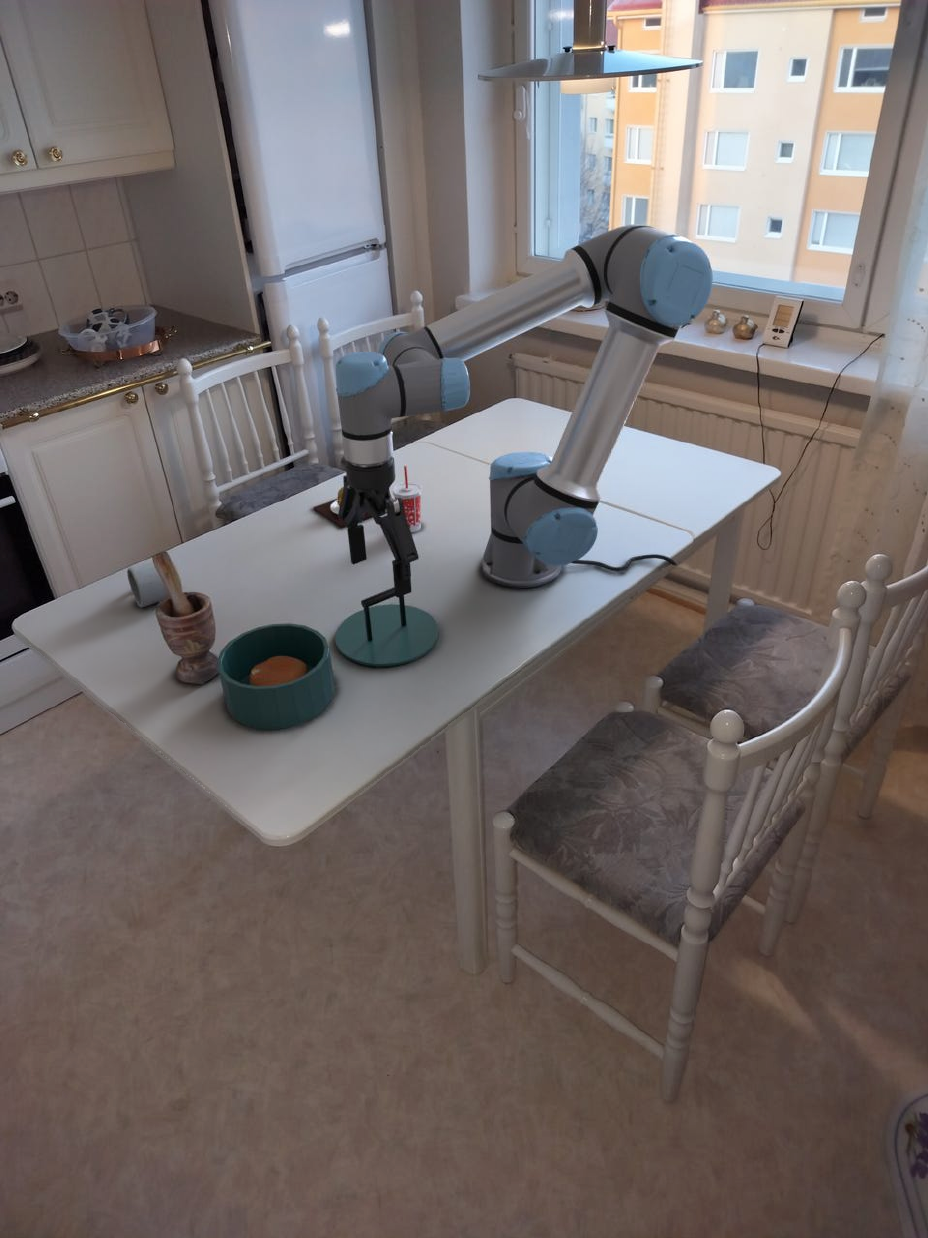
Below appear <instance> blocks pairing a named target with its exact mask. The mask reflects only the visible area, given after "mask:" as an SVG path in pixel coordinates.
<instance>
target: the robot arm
mask: <svg viewBox="0 0 928 1238" xmlns="http://www.w3.org/2000/svg"><path fill="white" fill-rule="evenodd" d="M713 282H714V273H713V268H712V266H711V262H710V259H709V257H708V255H707V254H706V252H705V251H704V250H703V249H702V247H700V246H699V245H698V244H696V243H695V242H693V241H692V240H689V239H688V238H686V237H685V236H681V235H677V234H675V233H671V232H667V231H665V230H661V229H658V228H655V227H653V226H651V225H647V224H642V223H636V224H626V225H622V226H619V227H616V228H613V229H611V230H608V231H606V232H603V233H601V234H599V235H596V236H594V237H592V238H590V239H588V240H585V241H583V242H581V243H579V244H577V245H575V246H573V247H571V248H569V249H566V251H565V253H564V255H563V257H562V260H560V261H558V262H555V263H553V264H552V265H549V266H547V267H545V268H543V269H541V270H538V271H537V272H535V273H533V274H531V275H528V276H527V277H525V278H523V279H521V280H519V281H516V282H514V283H512V284H511V285H509V286H506V287H504V288H502V289H500V290H498V291H496V292H494V293H492V294H490V295H487V296H485V297H484V298H482V299H480V300H478V301H475V302H473V303H471V304H469V305H467V306H465V307H463V308H461V309H459V310H456V311H455V312H453V313H451V314H449V315H446V316H444V317H443V318H441V319H438V320H436V321H435V322H432V323H430V324H428V325H426V326H424V327H421V328H419V329H417V330H415V331H413V332H411V333H410V332H406V331H394V332H392V333H390V334H388V335H387V336H386V337H384V338H383V340H382V342H380V345H379V349H378V352H376V351H355V352H354V351H353V352H350V353H347V354H345V355H342V356H341V357H340V358H339V359H337V361H336V364H335V378H336V388H335V391H336V394H337V402H338V411H339V420H340V426H341V441H342V449H343V458H344V460H345V462H344V465H345V466H344V467H345V474H346V475H343V477H342V480H343V482H342V483H343V487H344V488H343V493H342V498H341V503H340V508H339V513H338V517H339V519H340V520H344V525H345V526H346V527H345V528H346V529H347V538H348V548H349V556H350V563H351V564H352V565H357V564H359V563H362V562H364V561H367V560H368V557H367V547H366V537H365V528H364V526H365V525H363V524H362V523H364V521H365V520H363V517H364V515H365V513H369V514H370V515H371V516H372V517H371V518H372V519H373V520H374V523H375V524H376V525H378V526H379V527H380V529H381V531H382V534H383V536H384V538H385V541H386V542H387V544H388V547H389V549H390V551H391V554H392V556H393V558H394V559H393V560H391V564H392V565H391V566H392V574H393V575H392V576H393V587H394V589H395V596H394V597H396V598H398V599H399V597H401V596H403V595H404V596H405V595H408V594H410V593H411V594H412V578H411V577H412V570H411V563H412V562H415V561H418V560H419V558H420V556H419V553H418V550H417V547H416V544H415V541H414V537H413V534H412V532H411V531H410V528H409V525H408V522H407V518H406V515H405V511H404V504H403V500H402V499H401V498H398V499H395V498H394V497H392V495H391V491H390V489H391V486H392V485H393V484H394V482H395V480H396V466H395V464H396V463H395V458H394V443H393V434H394V433H393V428H392V427H393V426H392V419H396V418H404V417H412V416H418V415H425V414H426V415H427V414H434V413H441V412H443V413H447V412H449V411H453V410H458V409H461V408H464V407H465V406H466V405H467V404H468V402H469V399H470V393H471V384H470V376H469V371H468V369H467V366H466V364H465V362H466V361H467V360H469V359H472V358H474V357H476V356H477V355H480V354H482V353H484V352H486V351H488V350H490V349H492V348H494V347H496V346H498V345H500V344H503V343H505V342H507V341H509V340H511V339H513V338H515V337H518V336H519V335H521V334H523V333H526V332H527V331H531V330H532V329H533V328H536V327H538V326H540V325H542V324H544V323H546V322H548V321H550V320H553V319H554V318H556V317H558V316H559V317H560V316H561V315H563V314H565V313H567V312H569V311H572V310H573V309H576V308H578V307H579V306H582V307H585V308H587V309H589V308H592V307H593V306H596V305H598V304H600V303H604V302H607V305H606V307H605V310H604V313H605V316H606V319H607V321H608V328H607V330H606V332H605V335H604V336H603V339H602V342H601V344H600V346H599V349H598V350H597V354H596V356H595V358H594V361H593V363H592V366H591V367H590V369H589V372H588V374H587V376H586V379H585V381H584V384H583V386H582V388H581V390H580V393H579V396H578V398H577V400H576V403H575V405H574V407H573V410H572V412H571V414H570V417H569V418H568V421H567V423H566V426H565V428H564V431H563V433H562V436H561V438H560V441H559V442H558V445H557V447H556V449H555V452H554V454H553V456H551V455H549V454H546V453H543V452H537V451H519V452H510V453H507V454H504V455H501V456H499V457H497V458H495V459H494V460H493V461H492V462H491V464H490V469H489V477H488V480H489V497H490V501H489V502H490V535H489V538H488V541H487V542H486V543H487V544H486V546H485V549H484V552H483V555H482V560H481V561H482V562H481V563H482V564H481V565H482V567H481V568H482V572H483V574H484V576H485V577H486V578H487V579H488V580H490V581H491V582H493V583H495V584H497V585H500V586H503V587H508V588H513V589H514V588H516V589H528V588H530V589H531V588H536V587H540V586H544V585H546V584H548V583H551V582H552V581H553V580H555V579H557V577H558V576H559V575H560V573H561V569H562V567H563V566H568V565H570V564H573V565H591V566H597V567H600V568H603V569H606V570H608V571H611V572H622V571H625V570H627V569H628V567H630V565H632V563H634V562H636V561H642V560H648V559H650V560H651V559H658V560H662V561H665V562H668V563H669V564H671V565H673V566H678V563H677V562H676V561H675V560H674V559H672V558H671V557H669V556H666V555H663V554H658V553H657V554H654V553H653V554H652V553H650V554H642V555H637V556H633V557H630V558H629V559H628V560H627V561H626V562H625V564H623V565H622V566H612V565H609V564H606V563H604V562H601V561H597V560H590V559H589V560H587V559H582V558H583V557H584V556H586V555H587V554H588V553H589V552H590V551H591V549H592V548H593V546H594V545H595V542H596V541H597V537H598V532H599V531H598V530H599V529H598V525H597V520H596V518H595V517H594V514H595V512H596V510H597V507H598V505H599V503H600V501H601V499H602V495H601V493H600V490H599V487H598V484H599V481H600V479H601V477H602V475H603V472H604V470H605V468H606V467H607V464H608V462H609V459H610V457H611V456H612V453H613V451H614V449H615V446H616V444H617V442H618V439H619V437H620V436H621V433H622V431H623V429H624V426H625V424H626V422H627V420H628V417H629V416H630V413H631V412H632V409H633V407H634V405H635V403H636V400H637V398H638V396H639V395H640V391H641V390H642V387H643V385H644V382H645V380H646V379H647V376H648V374H649V371H650V369H651V367H652V366H653V364H654V363H653V362H654V361H655V359H656V356H657V354H658V352H659V349H660V348H661V347H662V346H663V345H665V344H668V343H670V342H672V341H674V340H675V338H676V337H677V334H678V331H679V330H680V328H681V326H684V325H687V324H689V323H690V322H691V320H693V319H696V318H697V317H699V316H700V315H701V314H702V312H703V311H704V309H705V308H706V306H707V304H708V302H709V299H710V297H711V293H712V291H713V290H712V289H713ZM362 520H363V521H362Z"/></svg>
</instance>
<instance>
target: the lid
mask: <svg viewBox="0 0 928 1238" xmlns="http://www.w3.org/2000/svg"><path fill="white" fill-rule="evenodd" d="M395 597H396V596H395V589H394V586H393V587H391V588H388V589H386V590H384V591H381V592H378V593H376V594H374V595H371V596H368V597H366V598H364V599H361V600H360V604H361V607H362V608H363V609H361V610H359V611H357V612H355V613H353V614H350V615H349V616H348V617H347V618H345V619H344V620H343V621H342V622H341V623H340V624H339V626H338V627H337V629H336V632H335V637H334V639H335V646H336V648H337V649H338V651H339V653H341V654H342V656H344V657H345V658H346V659H348V660H350V661H352V662H355V663H358V664H361V665H365V666H371V667H392V666H398V665H402V664H406V663H409V662H410V663H411V662H412V661H414V660H418V659H419V658H421V657H423V656H424V655H426V654H428V653H429V652H430V651H431V650H432V649H433V648H434V647H435V645H436V644H437V642H438V639H439V636H440V627H439V624H438V622H437V620H436V619H435V617H434V616H433V615H432V614H430V613H428V612H427V611H425V610H423V609H421V608H419V607H415V606H413V605H412V606H411V605H406V602H405V601H406V600H405V595H403V596H401V597H399V598H398V604H397V603H394V604H393V603H392V604H391V603H390V604H380V603H383V602H385V601H387V600H390V599H392V598H395ZM377 604H379V605H377Z"/></svg>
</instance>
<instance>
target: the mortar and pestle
mask: <svg viewBox="0 0 928 1238" xmlns="http://www.w3.org/2000/svg"><path fill="white" fill-rule="evenodd" d="M151 560H152V562H153V564H154V566H155V568H156V570H157V572H158V574H159V576H160V578H161V580H162V581H163V583H164V585H165V587H166V589H167V591H168V593H169V595H170V596H169V597H167V598H165V599H163V600H162V601H160V602H157V605H156V606H155V608H154V614H155V616H156V620H157V623H158V625H159V628H160V633H161V634H162V638H163V640H164V642H165V644H166V645H167V647H168V648H169V650H170V651H171V652H172V653H173V654H174V655H176V656H178V657H180V659H179V660H178V662H177V665H176V667H175V675H176V677H177V679H178V680H179V681H181V682H182V683H186V684H201V685H203V684H205V683H206V682H208V681H209V680H211V679H213V678H214V677H216V676H217V675H218V674H219V671H218V665H217V660H218V658H219V657H217V656H216V654H214V653H213V652H211V651H210V650H211V649H212V648H213V647H214V645H215V641H216V633H217V631H216V627H217V626H216V619H215V616H214V610H213V604H212V600H211V598H210V597H209V596H208V595H207V594H206V593H203V592H199V591H198V592H197V591H184V592H183V588H182V589H181V587H180V585H179V582H178V579H177V576H176V572H175V569H174V565H173V563H174V561H173V560H172V558H171V556H170V554H169V553H168V551H166V550H164V551H160V552H158V553H155V554H154V555H151Z"/></svg>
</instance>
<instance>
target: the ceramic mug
mask: <svg viewBox="0 0 928 1238" xmlns="http://www.w3.org/2000/svg"><path fill="white" fill-rule="evenodd" d="M173 565H174V569H175V572H176V576H177V579H178V582H179V585H180V587H181V589H182V590H183V583H182V580H181V579H182V578H181V576H180V573H179V569H178V567H177V566H176V564H175V563H174V562H173ZM126 574H127V580H128V583H129V586H130V591H131V592H132V595H133V597H134V600H135V601H136V604H137V605H138V607H140V608H145V607H147V606H148V607H149V606H151V605H154V604H158V603H159V602H160V601H162V600H163V599H165V598H167V597H169V596H170V595H169V593H168V591H167V589H166V587H165V585H164V583H163V581H162V580H161V578H160V576H159V574H158V572H157V570H156V568H155V566H154V564H153V561H152V562H148V563H143V564H139V565H134V566H129V567H128V568H127V570H126Z"/></svg>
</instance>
